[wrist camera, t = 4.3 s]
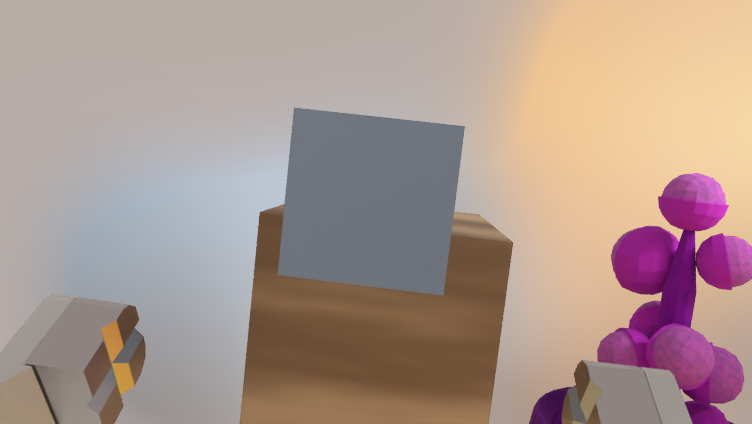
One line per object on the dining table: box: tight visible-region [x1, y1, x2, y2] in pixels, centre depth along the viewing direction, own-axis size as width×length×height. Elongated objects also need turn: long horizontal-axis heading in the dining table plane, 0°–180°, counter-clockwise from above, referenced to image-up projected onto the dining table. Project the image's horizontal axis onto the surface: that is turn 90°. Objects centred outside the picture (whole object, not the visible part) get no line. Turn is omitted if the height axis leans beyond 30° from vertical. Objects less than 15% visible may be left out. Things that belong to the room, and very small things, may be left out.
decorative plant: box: [529, 173, 752, 424], centre depth 40 cm, size 19×18×30 cm
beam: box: [278, 108, 465, 296], centre depth 26 cm, size 28×4×4 cm, turn 176°
